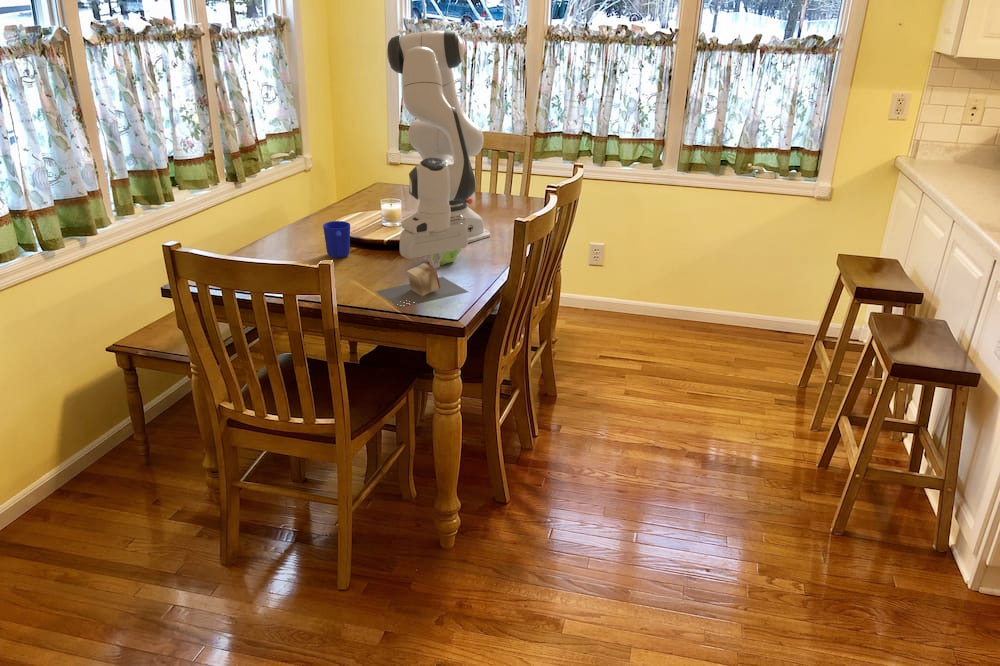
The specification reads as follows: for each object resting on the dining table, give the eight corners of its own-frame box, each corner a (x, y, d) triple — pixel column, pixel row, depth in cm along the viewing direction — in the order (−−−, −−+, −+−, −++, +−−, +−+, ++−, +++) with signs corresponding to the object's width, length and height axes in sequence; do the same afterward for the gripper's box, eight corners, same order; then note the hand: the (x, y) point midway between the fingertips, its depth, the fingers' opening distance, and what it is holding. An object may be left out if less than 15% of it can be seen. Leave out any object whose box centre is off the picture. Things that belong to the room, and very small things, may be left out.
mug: (327, 264, 243) (325, 233, 239) (324, 252, 254) (322, 221, 249) (354, 263, 245) (352, 231, 241) (350, 250, 256) (348, 220, 251)
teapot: (423, 256, 252) (422, 230, 249) (459, 256, 253) (459, 230, 250) (423, 268, 242) (422, 242, 239) (461, 268, 243) (461, 242, 240)
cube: (424, 262, 225) (406, 270, 222) (436, 268, 220) (417, 277, 218) (429, 281, 228) (411, 289, 225) (440, 287, 223) (422, 296, 221)
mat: (442, 278, 235) (442, 276, 235) (468, 293, 225) (468, 291, 225) (375, 292, 224) (375, 291, 223) (399, 309, 213) (399, 307, 213)
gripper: (459, 211, 226) (459, 258, 231) (396, 222, 215) (397, 271, 220) (472, 217, 221) (471, 264, 227) (407, 228, 210) (408, 278, 216)
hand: (434, 267), depth 224 cm, fingers closed
